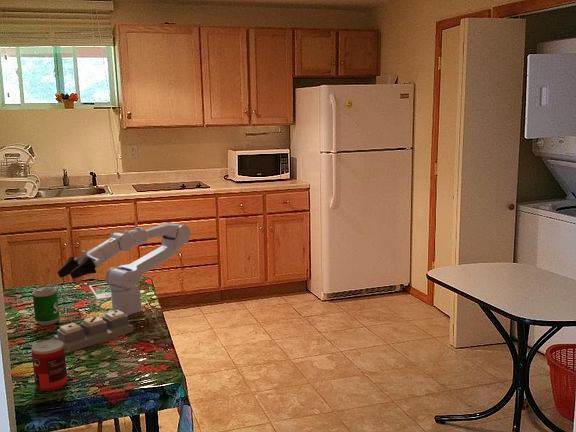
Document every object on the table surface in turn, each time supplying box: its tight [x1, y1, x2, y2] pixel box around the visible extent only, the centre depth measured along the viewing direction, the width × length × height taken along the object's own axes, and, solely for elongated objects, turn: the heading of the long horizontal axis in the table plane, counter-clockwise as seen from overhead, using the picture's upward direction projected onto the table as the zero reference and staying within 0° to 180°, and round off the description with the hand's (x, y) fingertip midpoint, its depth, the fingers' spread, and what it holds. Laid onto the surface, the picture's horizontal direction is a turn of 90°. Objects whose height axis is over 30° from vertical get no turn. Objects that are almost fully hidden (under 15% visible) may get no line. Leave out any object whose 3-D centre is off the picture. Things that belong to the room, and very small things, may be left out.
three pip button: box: [82, 316, 103, 327], centre depth 185 cm, size 4×4×2 cm
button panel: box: [53, 315, 134, 353], centre depth 185 cm, size 21×11×5 cm, turn 135°
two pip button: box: [104, 310, 125, 320], centre depth 190 cm, size 4×4×2 cm
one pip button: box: [59, 322, 81, 334], centre depth 179 cm, size 4×4×2 cm
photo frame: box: [88, 282, 112, 301], centre depth 230 cm, size 15×1×18 cm
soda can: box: [32, 284, 60, 326], centre depth 197 cm, size 8×8×12 cm
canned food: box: [31, 339, 68, 392], centre depth 154 cm, size 8×8×11 cm
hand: (65, 275), depth 186 cm, fingers open, 7 cm apart
